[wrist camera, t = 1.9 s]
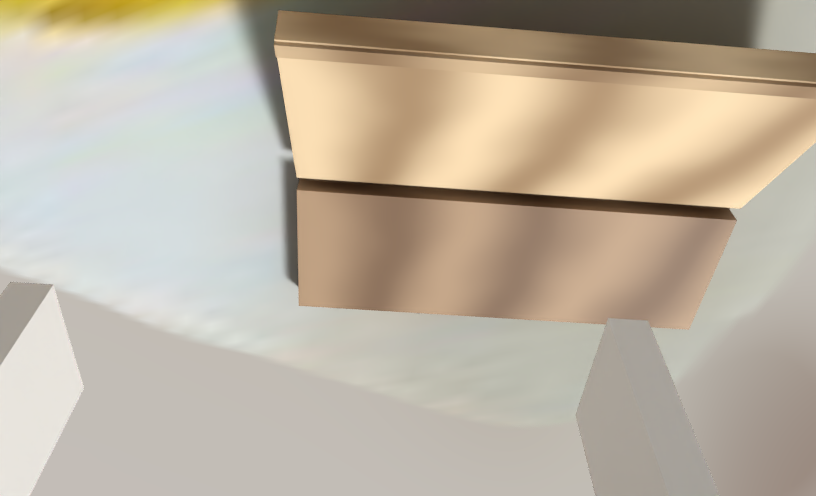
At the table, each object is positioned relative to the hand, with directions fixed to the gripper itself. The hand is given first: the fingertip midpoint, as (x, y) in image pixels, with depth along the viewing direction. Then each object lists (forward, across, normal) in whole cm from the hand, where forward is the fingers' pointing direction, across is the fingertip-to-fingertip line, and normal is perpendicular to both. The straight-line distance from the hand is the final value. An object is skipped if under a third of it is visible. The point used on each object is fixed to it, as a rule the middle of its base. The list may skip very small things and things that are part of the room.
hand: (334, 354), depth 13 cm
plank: (+15, +7, -2) cm, 17 cm away
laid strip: (+18, +7, -10) cm, 21 cm away
